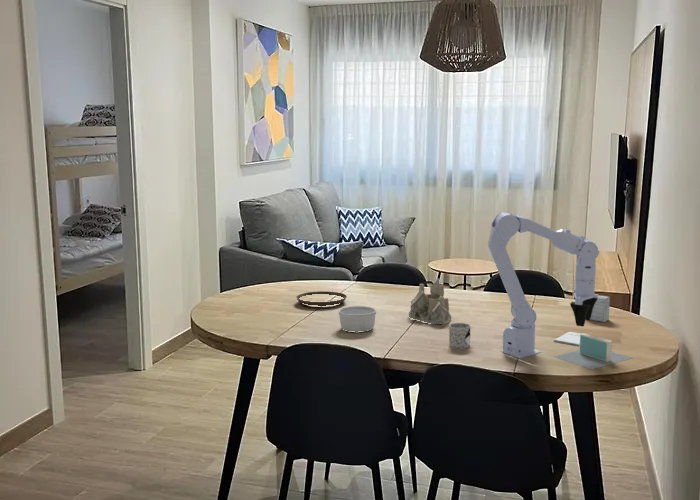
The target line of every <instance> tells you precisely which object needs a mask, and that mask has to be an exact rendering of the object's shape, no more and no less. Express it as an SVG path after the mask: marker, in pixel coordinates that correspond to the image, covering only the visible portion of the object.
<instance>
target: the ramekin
mask: <svg viewBox="0 0 700 500" xmlns="http://www.w3.org/2000/svg"><path fill="white" fill-rule="evenodd" d="M338 315H339V322H340V328H341V329H342V330H343V329H344V330H347V331H355V332H358V331H367V330H370V329H372V328H373V329H374V328H375V324H376V323H375V322H376V315H377V309H375V308H374V307H371V306H363V305H362V306H361V305H352V306H344V307H341V308H339V310H338ZM373 329H372V330H373ZM344 330H343V331H344Z"/></svg>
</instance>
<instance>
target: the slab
mask: <svg viewBox="0 0 700 500" xmlns="http://www.w3.org/2000/svg"><path fill="white" fill-rule="evenodd" d="M579 350H580V353H581V354H584V355H587V356H590V357H593V358H597V359H600V360H603V361H606V362H608V361H611V356H612V352H613V341H612V340H611V339H607V338H603V337H599V336H596V335H593V334H588V333H586V332H584V333H581V334H580V345H579Z"/></svg>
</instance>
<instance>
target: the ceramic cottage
mask: <svg viewBox="0 0 700 500" xmlns="http://www.w3.org/2000/svg"><path fill="white" fill-rule="evenodd" d="M440 282H441V281H440V278H436V280H435V281H433V284H430V288H429V289H430V290H429V292H430V293H429V294H426V293H425V284H424V283H419V287H418V292H417V294H416V295H415V296H414V298H413V299H412V300H411V301H410V310H409V311H408V315H409V317H410V318H413V319H417V320H420V321H424V322H427V323H431V324H446V325H448V324H450V323H451V322H452V320H451V319H452V314H451V313H450V304H449V298H447V297H445V296H444V295H445V289H444V287H445V286H444V284H441V283H440ZM447 323H448V324H447Z"/></svg>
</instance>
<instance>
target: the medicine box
mask: <svg viewBox="0 0 700 500" xmlns="http://www.w3.org/2000/svg"><path fill="white" fill-rule="evenodd" d="M598 295H599V294H598ZM597 298H598V299H597V301H596V303H595V305H594V307H593V311H592V315H591V318H590V320H589V321H596V322H603V323H605V322H607V321H609V320H610V303H611V302H610V299H611V297H610V296H606V295H599V296H598V297H597Z"/></svg>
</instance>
